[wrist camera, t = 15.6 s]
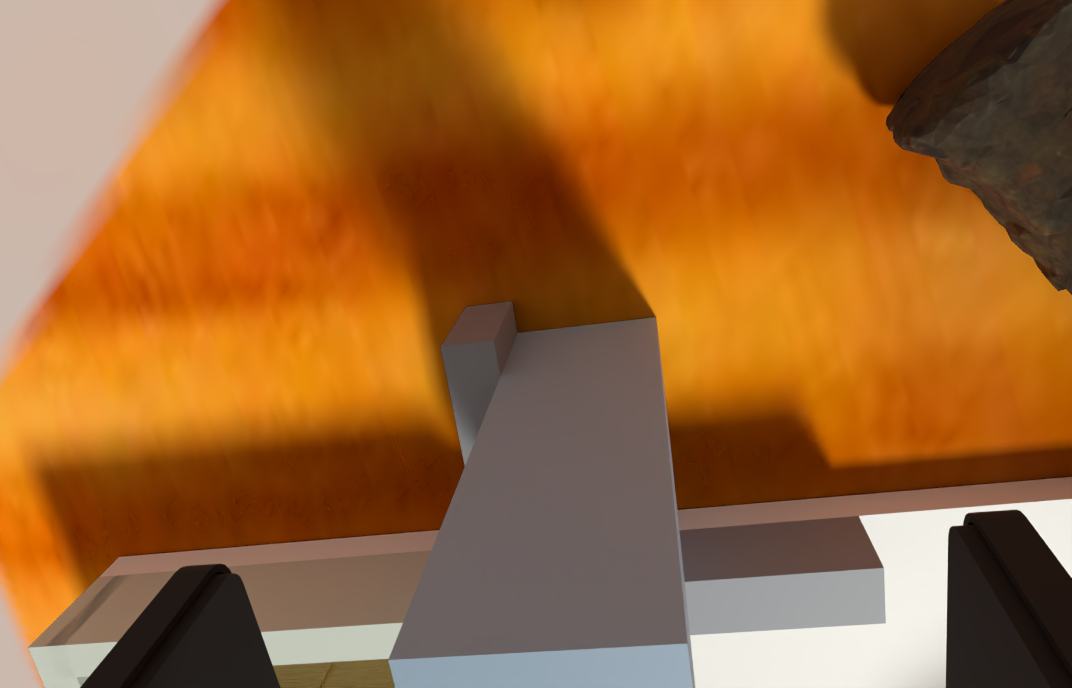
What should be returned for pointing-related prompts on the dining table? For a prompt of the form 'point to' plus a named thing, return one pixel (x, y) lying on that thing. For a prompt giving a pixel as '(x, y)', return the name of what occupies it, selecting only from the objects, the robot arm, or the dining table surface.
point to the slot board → (709, 573)
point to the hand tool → (1004, 124)
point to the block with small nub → (553, 517)
